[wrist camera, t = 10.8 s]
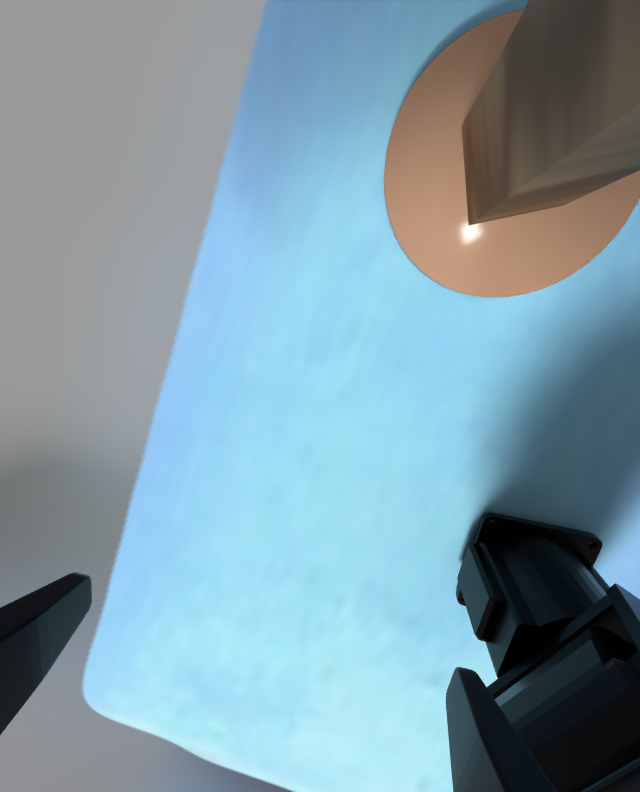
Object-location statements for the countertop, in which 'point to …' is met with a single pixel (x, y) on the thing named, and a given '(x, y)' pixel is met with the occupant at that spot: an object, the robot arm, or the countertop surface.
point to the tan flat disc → (446, 189)
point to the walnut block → (556, 109)
